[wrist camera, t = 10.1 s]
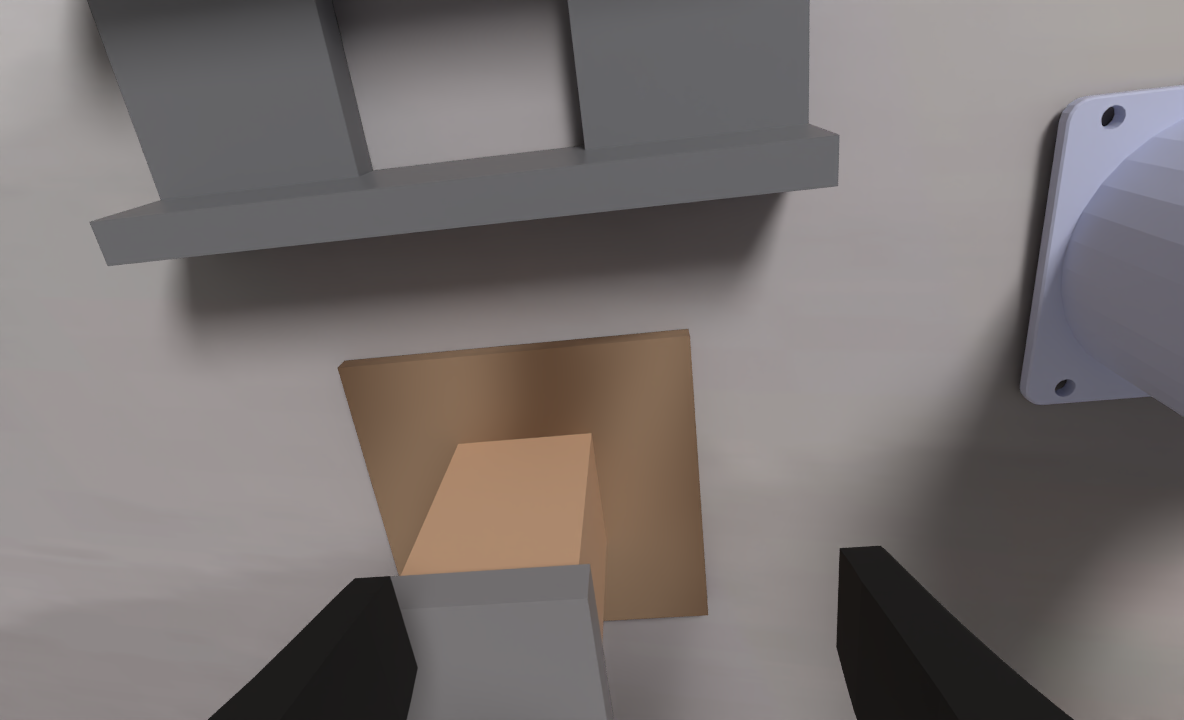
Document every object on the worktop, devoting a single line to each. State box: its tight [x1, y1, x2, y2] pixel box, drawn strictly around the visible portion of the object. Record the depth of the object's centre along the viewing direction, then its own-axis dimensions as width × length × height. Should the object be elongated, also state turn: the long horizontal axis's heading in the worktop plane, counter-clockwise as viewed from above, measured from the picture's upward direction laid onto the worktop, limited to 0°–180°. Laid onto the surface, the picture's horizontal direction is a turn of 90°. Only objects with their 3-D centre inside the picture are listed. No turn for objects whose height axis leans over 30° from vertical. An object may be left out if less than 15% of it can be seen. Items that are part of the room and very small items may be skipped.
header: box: [87, 0, 839, 266], centre depth 15 cm, size 16×8×4 cm, turn 97°
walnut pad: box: [338, 329, 708, 621], centre depth 21 cm, size 10×10×1 cm
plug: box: [391, 433, 614, 720], centre depth 18 cm, size 5×5×7 cm
